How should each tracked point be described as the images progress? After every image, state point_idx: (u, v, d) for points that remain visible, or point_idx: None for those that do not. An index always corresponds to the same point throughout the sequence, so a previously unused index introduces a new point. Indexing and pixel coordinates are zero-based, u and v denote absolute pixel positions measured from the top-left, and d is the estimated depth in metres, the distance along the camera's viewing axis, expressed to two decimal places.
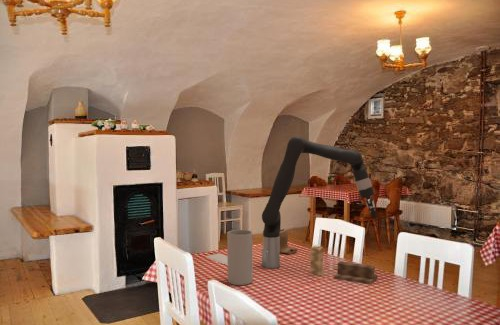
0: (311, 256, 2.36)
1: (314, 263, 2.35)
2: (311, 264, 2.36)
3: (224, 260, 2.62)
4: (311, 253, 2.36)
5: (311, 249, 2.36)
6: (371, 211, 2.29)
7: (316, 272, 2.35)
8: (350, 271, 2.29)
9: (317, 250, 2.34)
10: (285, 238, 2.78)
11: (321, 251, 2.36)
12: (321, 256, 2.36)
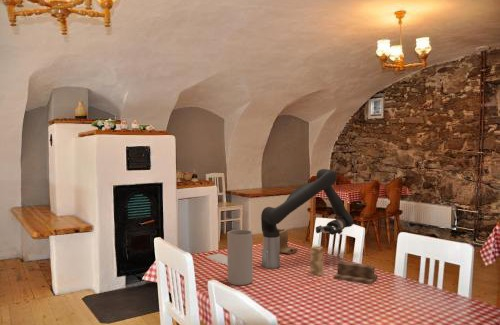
0: (311, 256, 2.36)
1: (314, 263, 2.35)
2: (311, 264, 2.36)
3: (224, 260, 2.62)
4: (311, 253, 2.36)
5: (311, 249, 2.36)
6: (336, 230, 2.46)
7: (316, 272, 2.35)
8: (350, 271, 2.29)
9: (317, 250, 2.34)
10: (285, 238, 2.78)
11: (321, 251, 2.36)
12: (321, 256, 2.36)
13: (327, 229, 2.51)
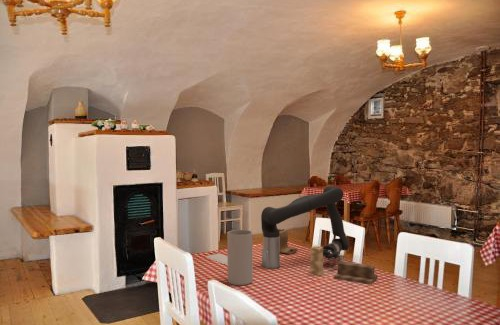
0: (311, 256, 2.36)
1: (314, 263, 2.35)
2: (311, 264, 2.36)
3: (224, 260, 2.62)
4: (311, 253, 2.36)
5: (311, 249, 2.36)
6: (333, 255, 2.43)
7: (316, 272, 2.35)
8: (350, 271, 2.29)
9: (317, 250, 2.34)
10: (285, 238, 2.78)
11: (321, 251, 2.36)
12: (321, 256, 2.36)
13: (323, 253, 2.48)
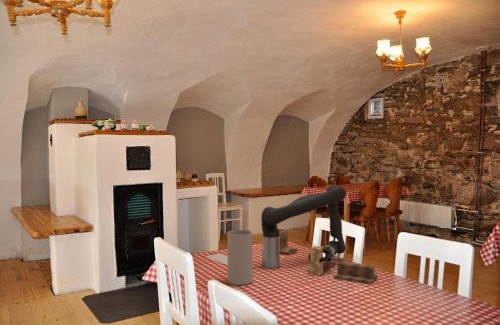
0: (311, 256, 2.36)
1: (314, 263, 2.35)
2: (311, 264, 2.36)
3: (224, 260, 2.62)
4: (311, 253, 2.36)
5: (311, 249, 2.36)
6: (325, 258, 2.36)
7: (316, 272, 2.35)
8: (350, 271, 2.29)
9: (317, 250, 2.34)
10: (285, 238, 2.78)
11: (321, 251, 2.36)
12: (321, 256, 2.36)
13: None
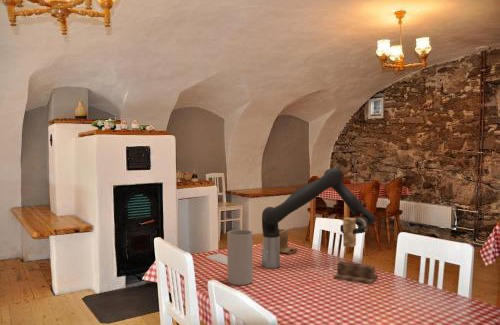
0: (344, 227, 2.29)
1: (347, 234, 2.28)
2: (344, 236, 2.29)
3: (225, 260, 2.61)
4: (344, 224, 2.29)
5: (344, 220, 2.28)
6: (358, 229, 2.29)
7: (349, 244, 2.28)
8: (350, 271, 2.29)
9: (350, 221, 2.27)
10: (285, 238, 2.78)
11: (354, 222, 2.29)
12: (354, 227, 2.28)
13: None
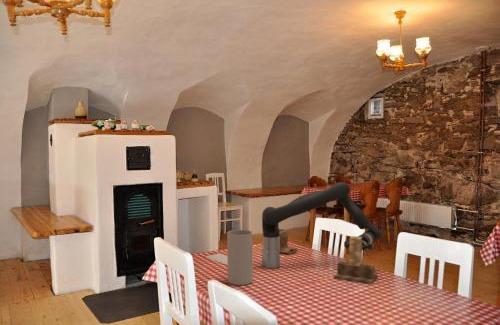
0: (350, 246, 2.27)
1: (353, 253, 2.27)
2: (350, 255, 2.28)
3: (225, 260, 2.61)
4: (350, 243, 2.27)
5: (350, 239, 2.27)
6: (368, 246, 2.27)
7: (356, 263, 2.26)
8: (350, 271, 2.29)
9: (357, 240, 2.25)
10: (285, 238, 2.78)
11: (360, 241, 2.27)
12: (360, 246, 2.27)
13: None
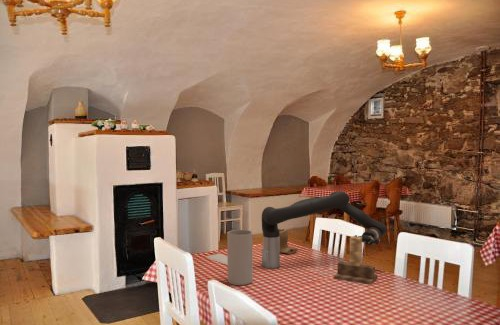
0: (350, 246, 2.27)
1: (353, 253, 2.27)
2: (350, 255, 2.28)
3: (225, 260, 2.61)
4: (350, 243, 2.27)
5: (350, 239, 2.27)
6: (374, 241, 2.38)
7: (356, 263, 2.26)
8: (350, 271, 2.29)
9: (357, 240, 2.25)
10: (285, 238, 2.78)
11: (360, 241, 2.27)
12: (360, 246, 2.27)
13: (364, 239, 2.43)
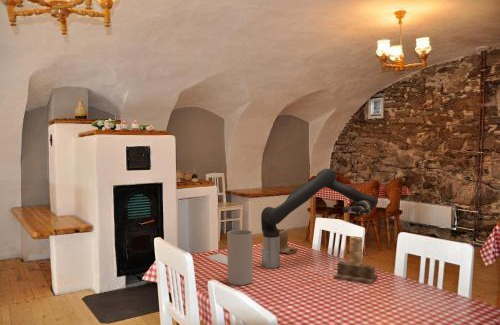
0: (350, 246, 2.27)
1: (353, 253, 2.27)
2: (350, 255, 2.28)
3: (225, 260, 2.61)
4: (350, 243, 2.27)
5: (350, 239, 2.27)
6: (365, 210, 2.42)
7: (356, 263, 2.26)
8: (350, 271, 2.29)
9: (357, 240, 2.25)
10: (285, 238, 2.78)
11: (360, 241, 2.27)
12: (360, 246, 2.27)
13: (355, 209, 2.47)
